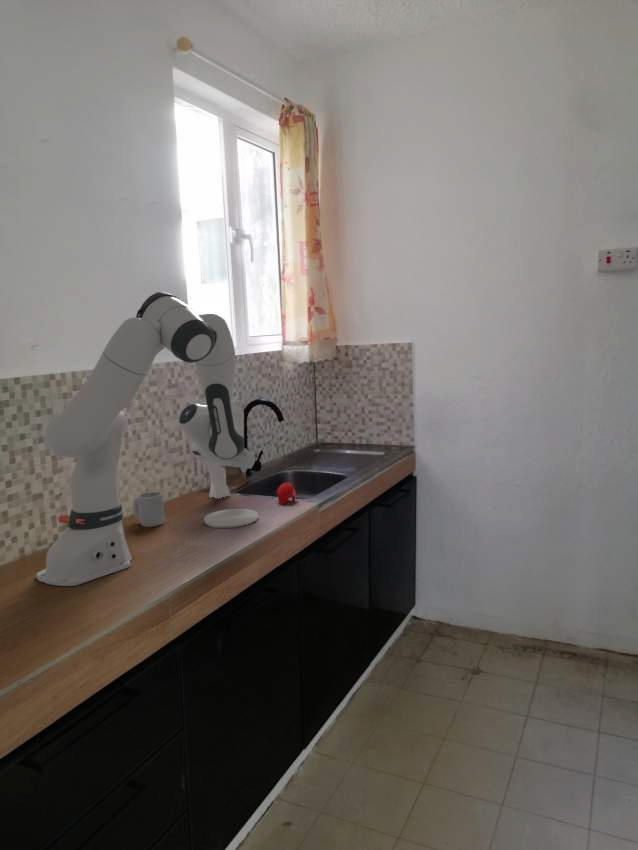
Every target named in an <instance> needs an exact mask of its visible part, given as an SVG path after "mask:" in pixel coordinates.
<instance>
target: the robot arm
mask: <svg viewBox="0 0 638 850" xmlns="http://www.w3.org/2000/svg"><path fill="white" fill-rule="evenodd" d="M228 326H229V325H228V324H227V321H226V320H225V318H224V317H223V316H222V315H220V314H219V313H217V312H216V313H215V312H209V311H207V312H202V313H199V314H197V313H196V312H195V311H194V310H193V309H192V308H191V307H190V306H189V305H188V304H187V303H185V302H183V301H181V300H180V299H179V298H178V297H177V296H175V295H173V294H171V293H168V292H165V291H158V292H155V293H153V294H152V295H149V296H148V298H146V299H145V301H144V302H143V303H142V305H141V306H140V308H139V309H138V310H137V312H136V315H135V317H134V316H132V317H129V318H127V319H125V320H124V321H123V322H122V323H121V324H120V325H119V327H118V328H117V329H116V331H114V333H113V334H112V337H110V339H109V341H108V342H107V343H106V345H105V347H104V349H103V351H102V353H101V355H100V356H99V359H98V360H97V362H96V364H95V365H94V368H93V369H92V371H91V373H90V375H89V376H88V378H87V380H86V381H85V383H84V384H83V385H82V386H81V387H80V389H79V390H78V391H77V392H76V393H75V394H74V395H73V397H72V398H71V400H70V401H69V402H68V403H67V404H66V405H65V407H64V408H63V409H62V410H61V411H60V412H59V413H58V414H57V415H55V416H54V417H53V418H52V419H51V420H50V421H48V423H47V425H46V427H45V429H44V430H45V431H44V437H45V442H46V443H45V444H46V445H47V446H48V448H49V449H50V451H51V452H53V453H54V454H55V455H57V456H60V457H64V458H66V457H67V458H76V461H75V466H74V469H73V471H72V473H70V477H69V487H70V488H69V489H70V499H71V507H72V508H71V510H70V514H69V515H65V514H59V515H58V517H57V521H58V523H60V524H67V528H65V530H64V531H63V533H62V534H61V535H59V537H58V538H57V540H56V541H55V542H54V543H53V544H52V546H50V548H49V549H48V550H47V553H46V557H45V558H46V560H45V568H44V569H41V570H39V571H38V572H37V573H36V579H37V580H38V581H39V582H41V583H43V582H44V584H48V585H52V586H60V587H72V586H75V587H76V586H79V585H81V584H84V583H87V582H89V581H93V580H95V579H98V578H102V577H104V576H107V575H111V574H112V573H116V572H119V571H123V570H125V569H127V568H129V567H132V564H131V560H132V558H133V557H132V554H131V552H130V549H129V546H128V544H127V540H126V536H125V535H126V534H125V532H124V531H125V530H124V526H123V521H122V520H123V519H124V516H123V506H122V503H120V492H119V480H118V479H119V477H118V476H119V475H118V471H119V463H120V454H121V448H122V443H123V439H124V438H125V435H126V433H127V430H128V428H129V426H128V425H129V423H128V419H127V416H126V414H125V412H124V411H123V410H124V409H125V408H126V407H127V406H128V405H130V403H131V402H133V399H134V398H135V397H136V394H137V392H138V391H139V389H140V387H141V385H142V383H143V382H144V379H146V376H147V374H148V373H149V370H150V369H151V367H152V365H153V362H154V360H155V358H156V356H157V355H158V354H159V353H160V352H161V351H163V350H164V349H167V351H169V352H171V353H172V354H173V355H174V357H175V358H178V359H179V360H180V361H182V362H185V363H188V364H189V363H190V364H191V363H194V367H195V369H196V373H197V375H198V379H199V382H200V385H201V388H202V392H203V396H204V397H205V402H206V404H199V403H196V402H195V403H190V404H188V405H187V406H185V408H184V409H182V411H181V413H180V414H179V417H178V418H179V419H178V423H179V426H180V428H181V429H182V432H183V433H184V434H185V436H187V438H188V439H189V440H190V441H191V442H193V444H192V446H191V448H190V449H189V451H190V453H191V455H194V456H195V458H197V459H198V460H199V462H201V463H203V464H205V465H207V464H212V465H219V466H220V467H222V468H224V469H225V470H226V467H225V466H231V467H239V471H240V472H241V473H245V472H247V470H248V469H252V468H253V466H254V464H255V462H256V457H255V456H254V454H253V453H251V452H250V451H249V450H248V449H247V448H245V429H244V428H245V422H244V421H245V413H244V408H243V407H242V405H241V404H239V402H236V401H234V400H232V396H233V387H234V379H235V375H236V374H235V372H236V351H235V346H234V345H235V344H234V340H233V338H232V334H231V331H230V328H229V327H228Z"/></svg>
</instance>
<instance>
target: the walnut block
mask: <svg viewBox="0 0 638 850" xmlns="http://www.w3.org/2000/svg"><path fill="white" fill-rule="evenodd" d="M225 467H226V477H225V479H226V486H228V487H233V488H234V487H236V488H238V487H241V486H244V485H247V473H246V472H247V471H246V472H245V473H241V472H240V471H239V467H231V466H225Z"/></svg>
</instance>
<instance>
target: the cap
mask: <svg viewBox="0 0 638 850" xmlns="http://www.w3.org/2000/svg"><path fill="white" fill-rule="evenodd" d="M276 493H277V497H278V498H277V499H278V504H279V505H281V504H283V505H285V504H286V503H287V502H288V501H289V499H290V498H291V501H292V502H295V501H296V499H297V498H296V497H297V492H296V489H295V487H294V486H293V485H292V484H291V483H289V482H283V483H282V484H281V485H280V486H278V488H277V489H276Z"/></svg>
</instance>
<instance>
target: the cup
mask: <svg viewBox="0 0 638 850" xmlns="http://www.w3.org/2000/svg"><path fill="white" fill-rule="evenodd" d="M133 513H134V515H135V517H136V518H138V519H139V522H140V526H141V527H143V526H145V527H144V528H152V527H153V526H154V527H158V525H159V526H161V524H162V525H164V524H165V521H166V520H165V519H166V518H165V517H166V516H165V506H164V494H163V492H161V491H149V492H143V493H140V494H138V495H137V497H136V498H135V499H134V501H133Z"/></svg>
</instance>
